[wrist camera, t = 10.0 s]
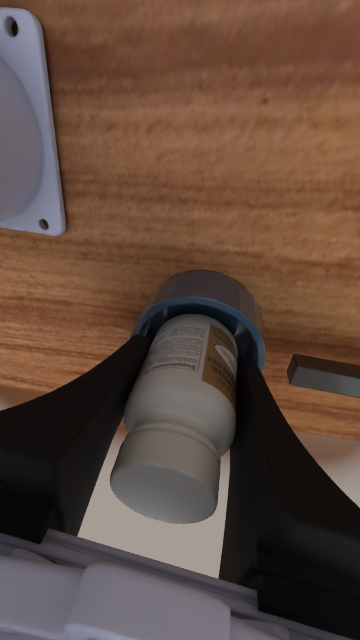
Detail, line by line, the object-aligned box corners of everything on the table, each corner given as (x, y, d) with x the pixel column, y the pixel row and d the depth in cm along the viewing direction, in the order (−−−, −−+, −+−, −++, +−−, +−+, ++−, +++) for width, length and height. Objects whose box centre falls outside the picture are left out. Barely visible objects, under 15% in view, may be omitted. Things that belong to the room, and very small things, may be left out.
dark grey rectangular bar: (285, 371, 14) (288, 385, 13) (293, 352, 14) (296, 366, 13) (385, 390, 14) (395, 406, 13) (398, 371, 13) (409, 387, 12)
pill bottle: (242, 375, 16) (242, 539, 9) (167, 378, 17) (120, 525, 10) (232, 306, 14) (222, 455, 7) (146, 315, 15) (71, 450, 8)
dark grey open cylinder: (145, 356, 18) (130, 390, 16) (148, 260, 15) (129, 285, 12) (246, 376, 18) (247, 415, 15) (275, 281, 14) (283, 311, 12)
